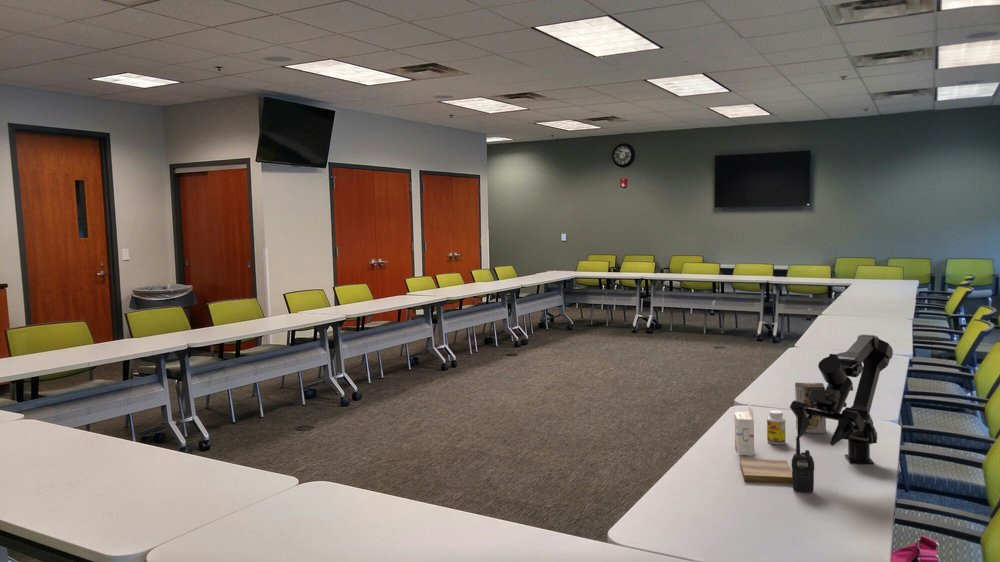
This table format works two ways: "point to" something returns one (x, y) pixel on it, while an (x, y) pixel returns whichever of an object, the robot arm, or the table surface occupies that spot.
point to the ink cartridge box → (744, 432)
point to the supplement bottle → (776, 427)
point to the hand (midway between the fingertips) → (814, 440)
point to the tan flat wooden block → (766, 471)
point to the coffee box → (802, 395)
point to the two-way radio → (802, 470)
